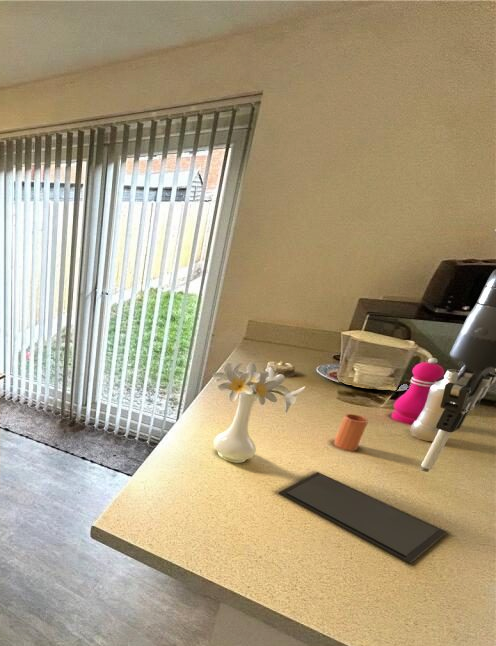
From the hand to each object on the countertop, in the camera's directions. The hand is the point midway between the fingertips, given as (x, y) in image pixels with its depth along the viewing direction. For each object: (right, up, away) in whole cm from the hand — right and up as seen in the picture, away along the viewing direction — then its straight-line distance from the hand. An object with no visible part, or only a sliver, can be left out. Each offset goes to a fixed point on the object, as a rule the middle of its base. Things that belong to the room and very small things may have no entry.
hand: (447, 428), depth 69 cm
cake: (+35, +12, +85) cm, 93 cm away
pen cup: (+15, -9, +36) cm, 41 cm away
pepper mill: (+45, -3, +49) cm, 67 cm away
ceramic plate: (+57, +9, +76) cm, 96 cm away
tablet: (-3, -20, +14) cm, 24 cm away
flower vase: (-16, -11, +33) cm, 39 cm away
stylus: (0, -8, +4) cm, 9 cm away
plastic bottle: (+40, -8, +40) cm, 57 cm away
